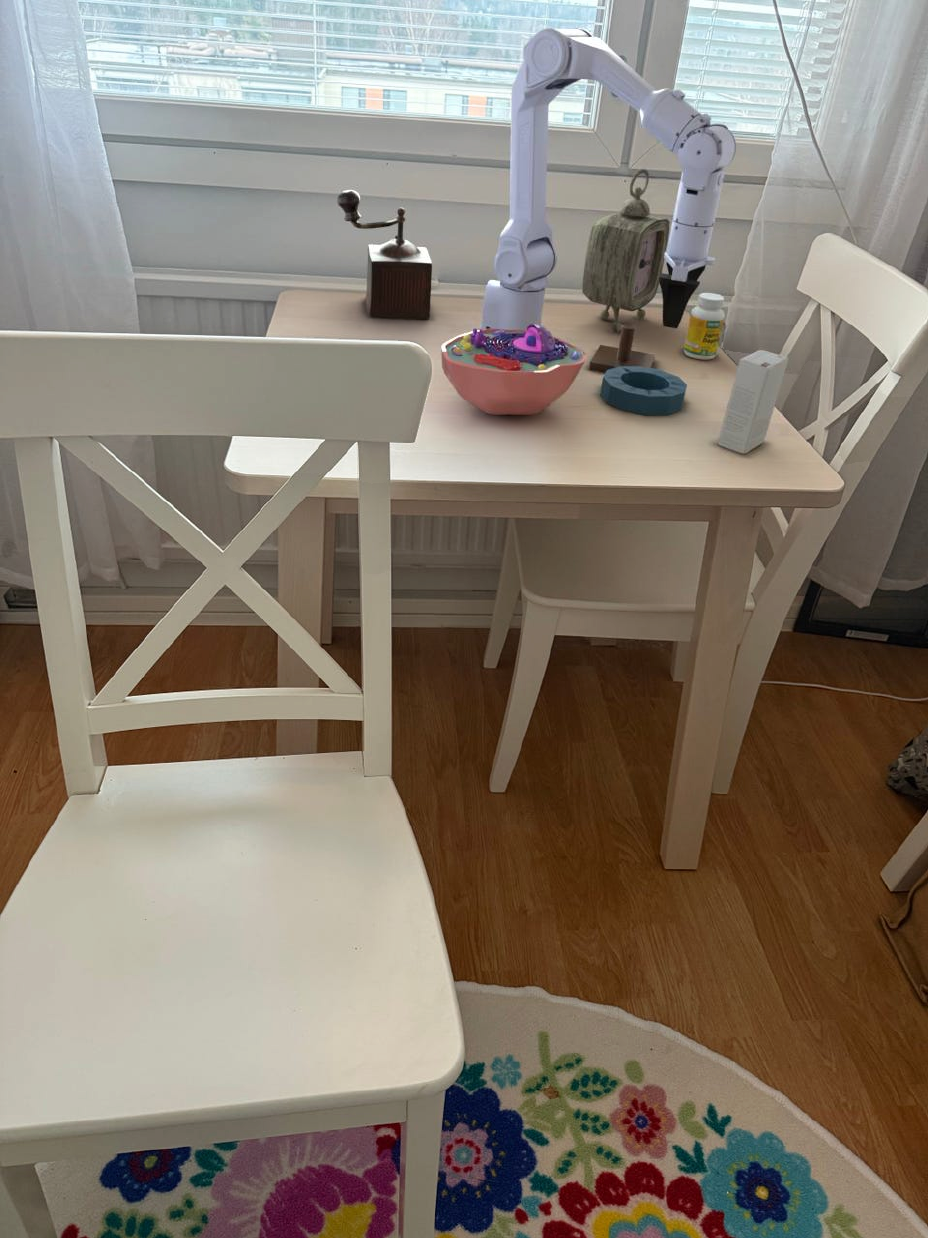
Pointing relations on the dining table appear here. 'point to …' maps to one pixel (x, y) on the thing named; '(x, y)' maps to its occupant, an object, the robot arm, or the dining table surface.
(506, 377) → the cell model
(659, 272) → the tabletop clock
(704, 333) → the supplement bottle
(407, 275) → the manual coffee grinder
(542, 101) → the robot arm
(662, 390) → the ring
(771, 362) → the cosmetic box
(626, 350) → the peg stand
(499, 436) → the dining table surface
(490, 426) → the dining table surface
